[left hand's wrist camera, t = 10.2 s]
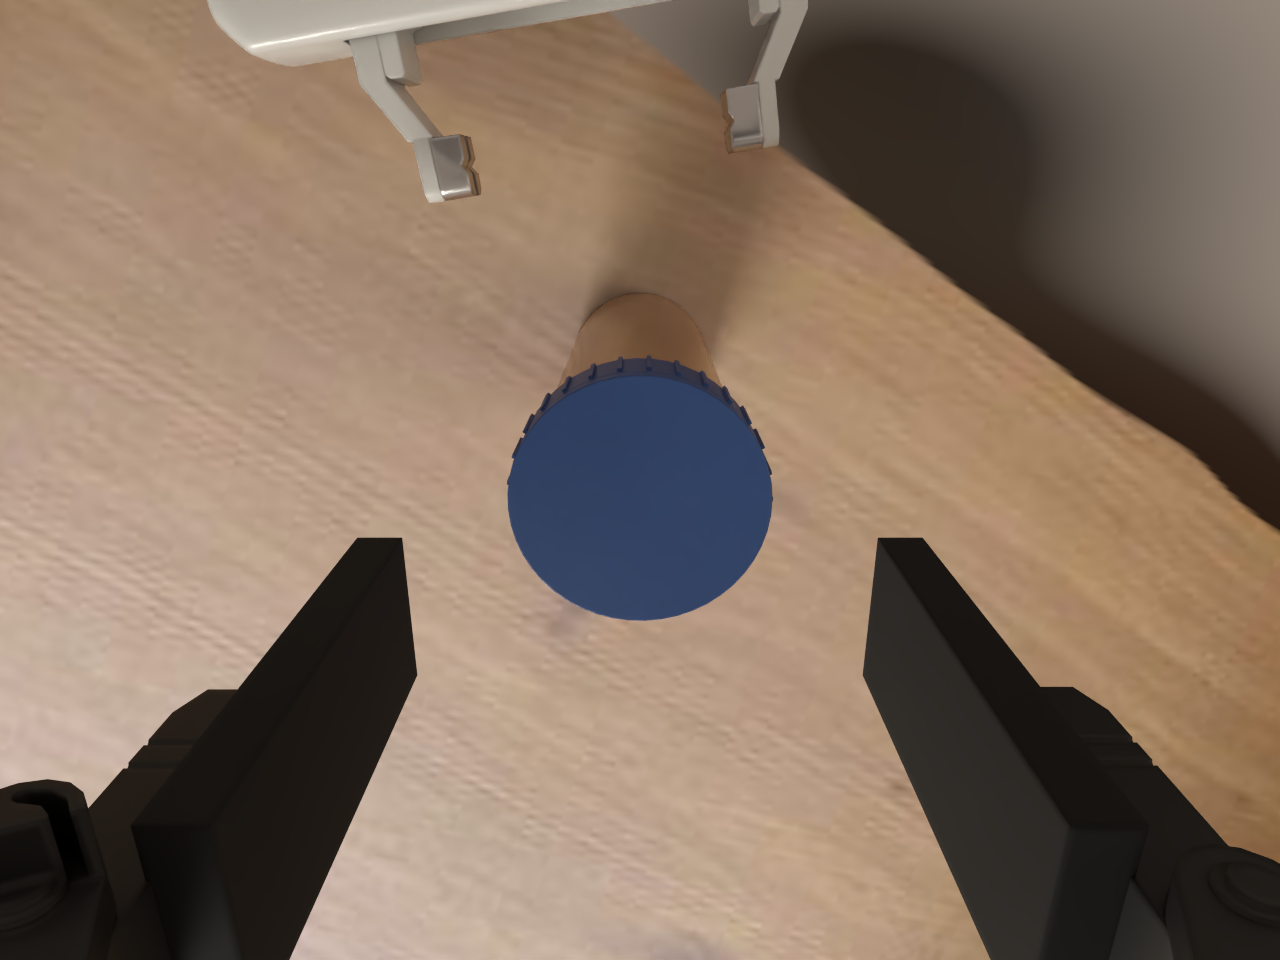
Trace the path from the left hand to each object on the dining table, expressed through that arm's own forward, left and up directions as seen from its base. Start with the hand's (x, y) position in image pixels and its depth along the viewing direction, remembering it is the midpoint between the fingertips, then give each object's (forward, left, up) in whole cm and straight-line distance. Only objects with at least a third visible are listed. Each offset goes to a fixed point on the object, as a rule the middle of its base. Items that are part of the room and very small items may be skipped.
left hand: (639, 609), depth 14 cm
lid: (0, 0, -5) cm, 5 cm away
